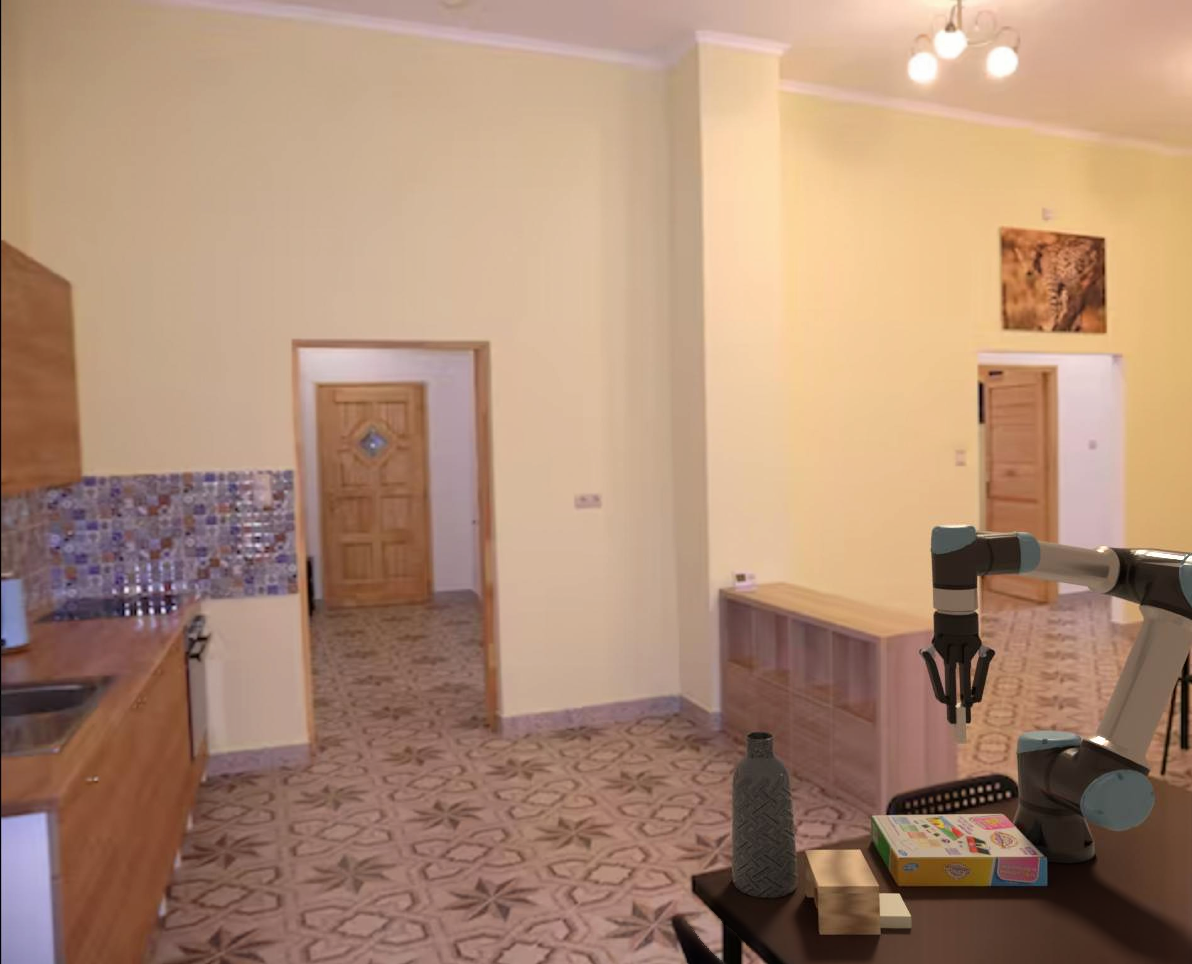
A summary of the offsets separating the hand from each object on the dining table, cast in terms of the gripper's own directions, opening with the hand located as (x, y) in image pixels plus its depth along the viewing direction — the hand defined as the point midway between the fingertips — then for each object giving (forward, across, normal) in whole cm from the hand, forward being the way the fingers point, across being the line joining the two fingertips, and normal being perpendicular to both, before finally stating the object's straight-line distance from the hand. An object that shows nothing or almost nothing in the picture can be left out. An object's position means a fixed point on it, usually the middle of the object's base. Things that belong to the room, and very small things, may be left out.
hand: (959, 741), depth 160 cm
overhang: (+28, +23, +6) cm, 37 cm away
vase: (+28, +35, -5) cm, 45 cm away
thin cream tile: (+29, +18, +7) cm, 35 cm away
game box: (+26, +11, -14) cm, 31 cm away
